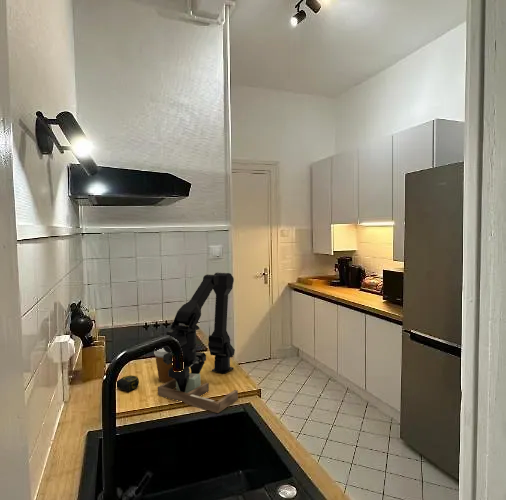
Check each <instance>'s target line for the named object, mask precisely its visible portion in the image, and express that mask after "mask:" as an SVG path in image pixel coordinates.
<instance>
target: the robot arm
mask: <svg viewBox="0 0 506 500" xmlns="http://www.w3.org/2000/svg"><path fill="white" fill-rule="evenodd" d="M234 280H235V278H234V276H233V275H232V273H230V272H215V273H214V274H209V273H208V274H207V273H206V274H205V275H203V278H202V280H201V282H200V284H199V285H198V288H197V289H196V290H195V292H194V294H193V295H192V297H191V298H190V300H189V301H187V302H186V303H184V304H182V305H181V306H180V308H179V309H178V310H177V311H176V314H175V316H174V318H173V321H172V324H171V326H170V330H168V331H166V335H170V336H172V337H174V338H175V339H177V340H178V341H179V343H180V345H181V348H182V351H183V362H184V369H183V371H181V372H174V371H173V367H171V368H170V369H169V370H168V376H169V377H171V378H174V379H175V380H176V381H177V383H178V386H179V389H180V391H181V392H185V390H186V386H187V383H188V380H189V376H190V375H189V373H194V374H200V375H201V371H202V369H203V367H204V364H205V362H206V361H207V354H206V353H205V352H203V351H202V352H201V351H197V350H199V345H197V330H200V326H198V323H199V320H200V319H201V316H202V308H203V306H204V304H205V302H206V301H207V300H208V298H209V296H210V294H211V293H212V291H213V292H214V294H215V303H214V305H215V307H214V325H213V326H214V327H213V331H212V334H209V336H208V341H207V342H208V343H207V346H208V350H209V354H210V356H214V364H213V365H214V368H212V369H211V371H212V372H215V373H219V374H223V375H225V374H227V373H229V372H230V371H232V370H233V369H234V367H233V366H231V358H233V357H234V356H235V348H234V346H232V344H231V337H230V335H229V334H228V331H227V329H228V328H227V327H228V303H229V294H230V293H231V292H232V290H233V287H234V286H233V285H234ZM163 349H164V350H165V351H166V352H168V353H166V354H164V357H163V362H164V363H166V364H167V365H169V364H170V363H173V361H172V354H171V351H170V349H169V348H168V347H164V348H163ZM231 369H232V370H231ZM228 371H229V372H228Z"/></svg>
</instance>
